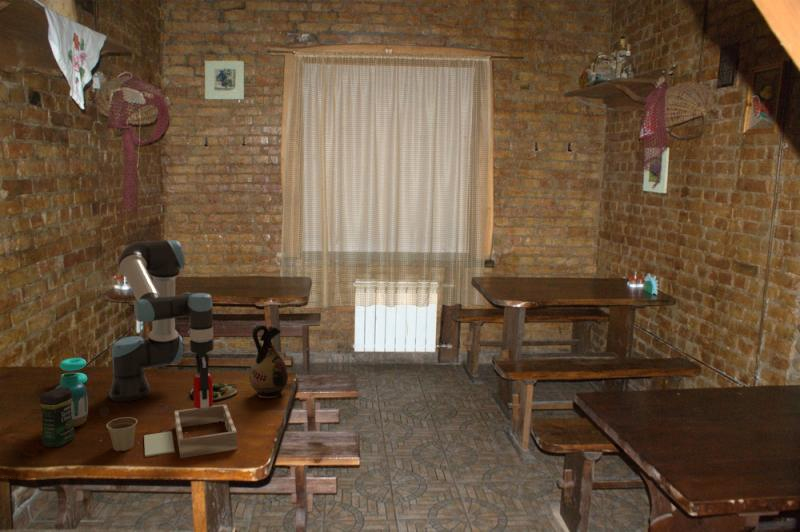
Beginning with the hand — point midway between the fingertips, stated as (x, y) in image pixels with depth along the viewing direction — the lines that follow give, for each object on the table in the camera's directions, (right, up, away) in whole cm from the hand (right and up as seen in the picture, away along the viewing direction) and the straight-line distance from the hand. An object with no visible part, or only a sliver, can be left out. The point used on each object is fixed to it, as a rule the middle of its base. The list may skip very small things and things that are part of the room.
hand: (203, 403), depth 213 cm
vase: (-50, -10, +9) cm, 52 cm away
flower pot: (-25, -13, -7) cm, 29 cm away
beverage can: (0, -2, 0) cm, 2 cm away
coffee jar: (-48, -12, -3) cm, 50 cm away
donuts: (-72, -3, +52) cm, 89 cm away
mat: (-14, -13, -4) cm, 19 cm away
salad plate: (-10, -6, +42) cm, 43 cm away
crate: (0, -12, +2) cm, 12 cm away
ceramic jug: (+13, -6, +42) cm, 44 cm away
